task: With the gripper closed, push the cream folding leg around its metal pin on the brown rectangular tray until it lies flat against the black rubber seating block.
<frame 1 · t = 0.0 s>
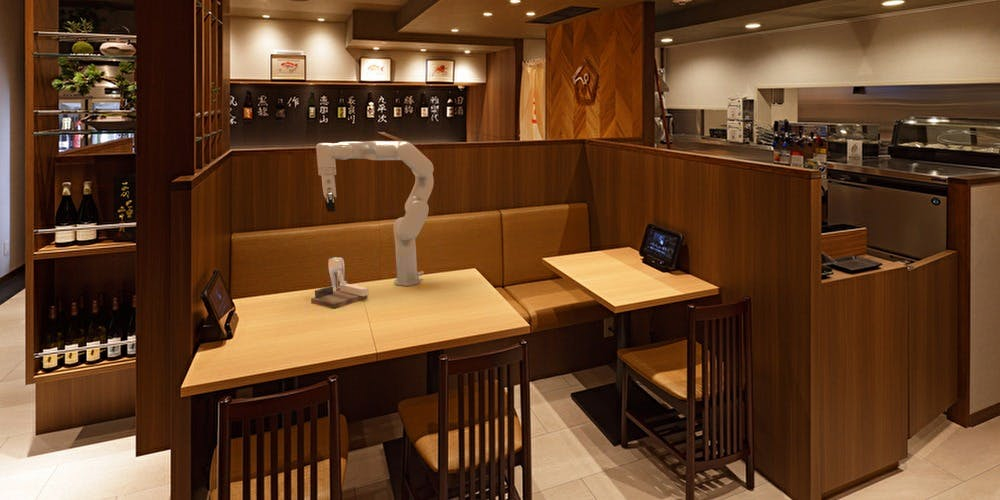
hand: (330, 210, 251), 37 cm above the table, tool pointing down, fingers open, 9 cm apart
brown rectangular tray: (339, 300, 245), on the table
hinged leg: (353, 288, 247), point 4 cm above the table, hinge at 90.0°
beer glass: (338, 291, 259), on the table
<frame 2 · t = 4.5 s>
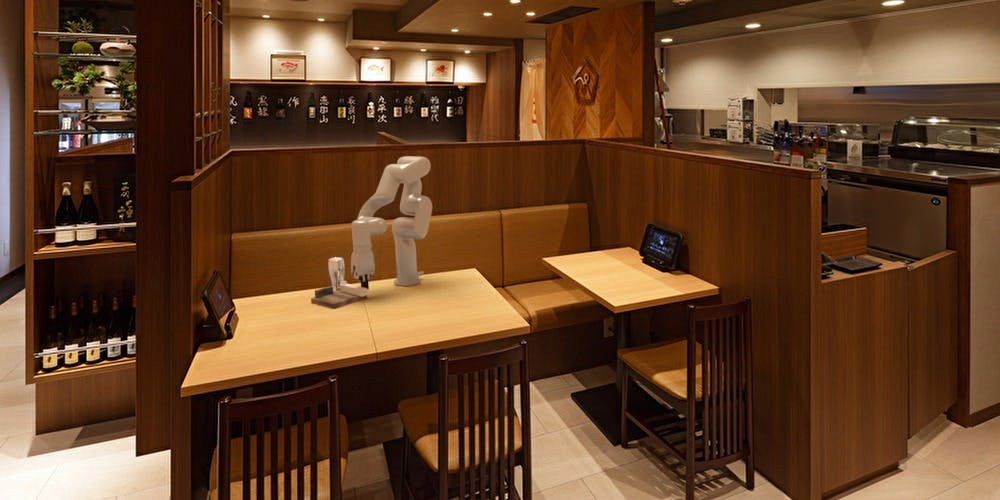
hand: (365, 289, 247), 4 cm above the table, tool pointing down, fingers closed
hinged leg: (353, 288, 247), point 4 cm above the table, hinge at 87.7°, touching gripper
everything else where it was.
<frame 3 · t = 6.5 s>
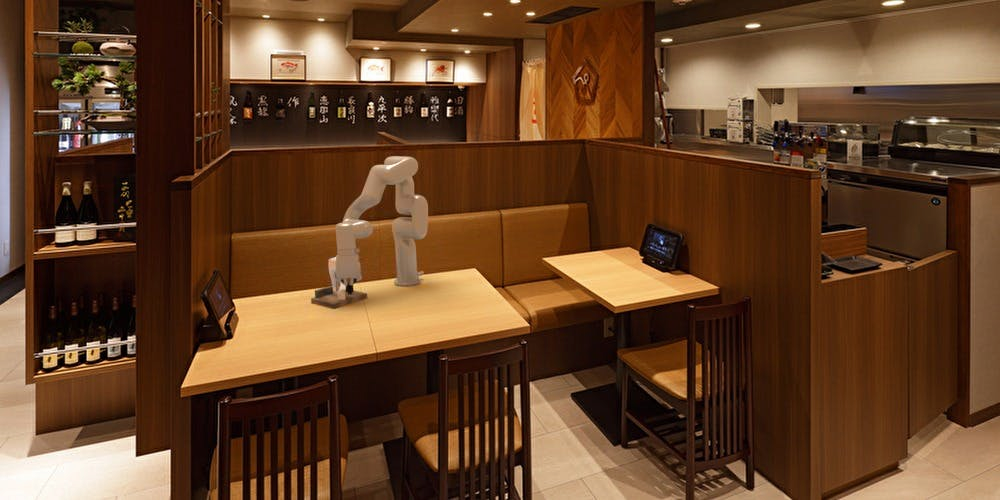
hand: (350, 293, 242), 4 cm above the table, tool pointing down, fingers closed
hinged leg: (343, 289, 245), point 4 cm above the table, hinge at 44.0°, touching gripper
everything else where it was.
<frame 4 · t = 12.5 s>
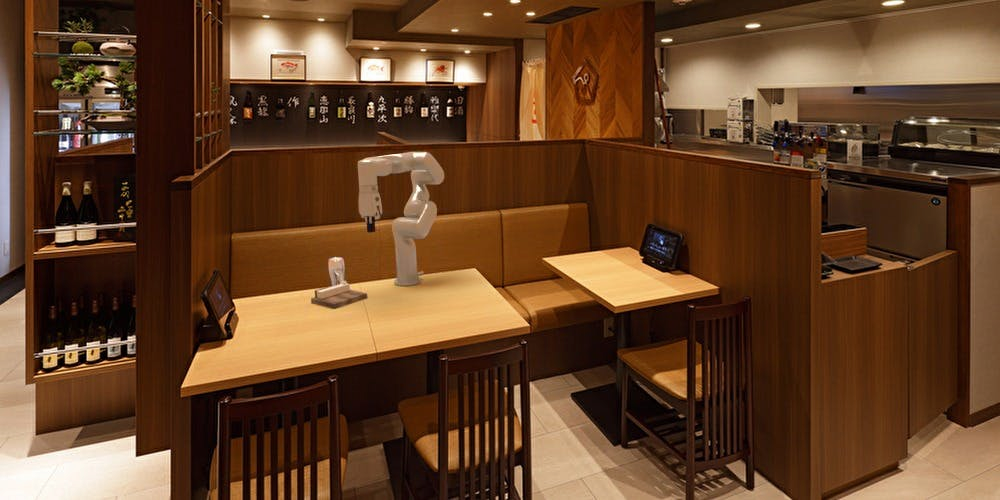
hand: (371, 231, 243), 29 cm above the table, tool pointing down, fingers closed
hinged leg: (333, 289, 246), point 4 cm above the table, hinge at -1.1°
everything else where it was.
at the end: hinged leg at -1° (first picture: +90°); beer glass moved 0.2 cm from its start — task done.
